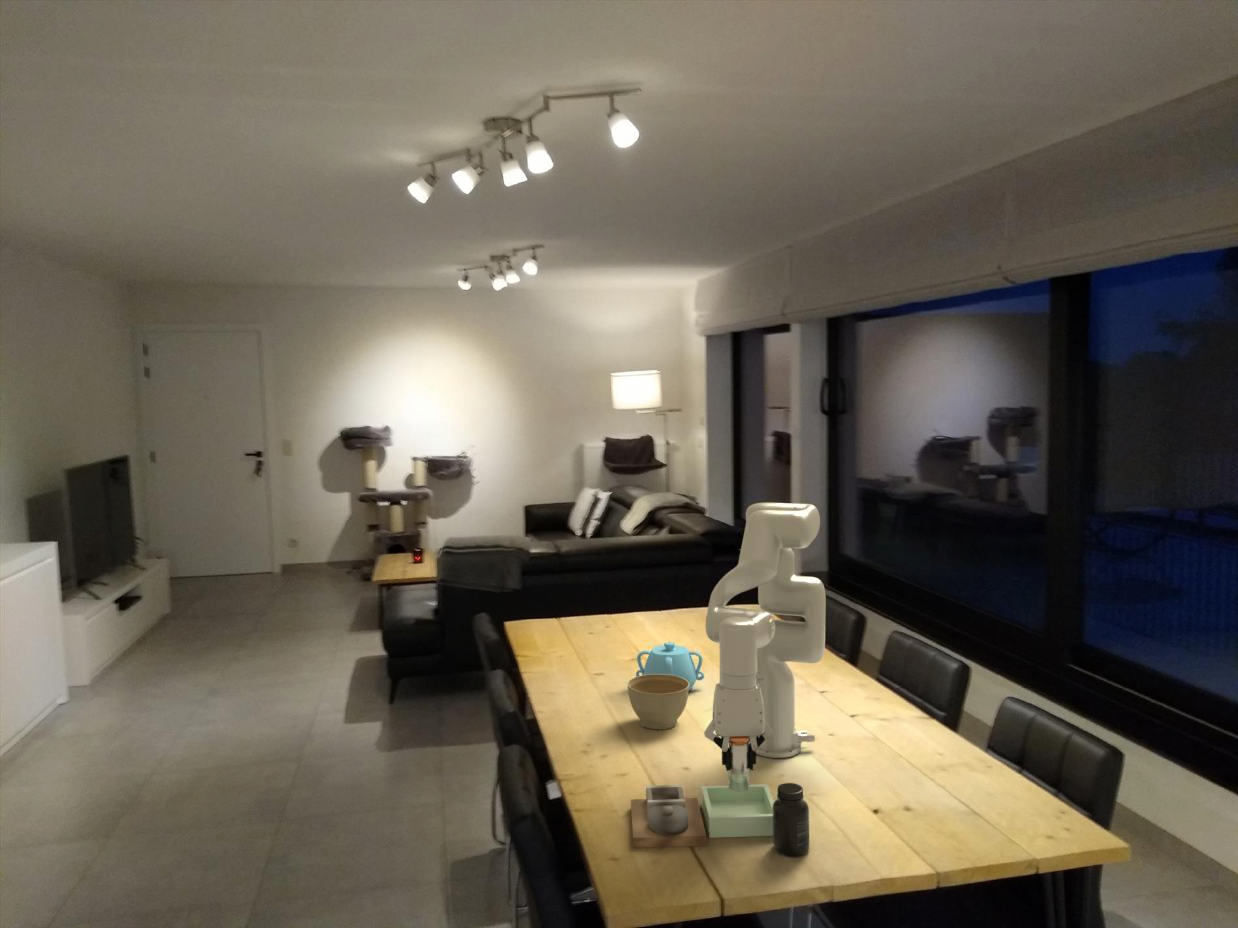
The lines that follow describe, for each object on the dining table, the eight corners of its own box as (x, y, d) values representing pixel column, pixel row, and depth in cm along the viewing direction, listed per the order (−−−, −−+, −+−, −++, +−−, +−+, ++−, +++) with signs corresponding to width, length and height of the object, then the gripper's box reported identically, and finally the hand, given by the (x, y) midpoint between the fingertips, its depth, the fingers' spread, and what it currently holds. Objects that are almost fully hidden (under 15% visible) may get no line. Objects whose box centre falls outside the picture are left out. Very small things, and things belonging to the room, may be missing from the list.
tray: (767, 802, 190) (767, 784, 190) (780, 835, 176) (780, 815, 176) (701, 804, 190) (701, 785, 189) (709, 837, 176) (709, 817, 175)
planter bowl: (685, 737, 226) (685, 695, 225) (622, 733, 229) (622, 691, 228) (693, 713, 242) (692, 674, 241) (634, 710, 245) (633, 671, 244)
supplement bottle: (804, 838, 175) (804, 779, 174) (813, 857, 168) (813, 795, 167) (769, 840, 174) (769, 780, 173) (776, 858, 168) (776, 796, 167)
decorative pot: (676, 676, 274) (675, 632, 272) (709, 690, 260) (708, 644, 259) (632, 686, 265) (631, 641, 264) (663, 701, 251) (662, 654, 250)
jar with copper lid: (748, 782, 184) (748, 730, 183) (752, 792, 180) (752, 738, 179) (726, 782, 184) (725, 730, 183) (729, 792, 180) (729, 739, 179)
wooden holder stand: (697, 806, 189) (696, 781, 188) (706, 845, 173) (705, 818, 172) (630, 808, 188) (630, 783, 188) (633, 847, 173) (633, 820, 172)
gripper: (776, 672, 184) (776, 759, 186) (694, 674, 184) (695, 761, 185) (783, 684, 177) (783, 774, 178) (698, 686, 176) (699, 776, 178)
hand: (738, 766), depth 182 cm, fingers closed on jar with copper lid, 4 cm apart
